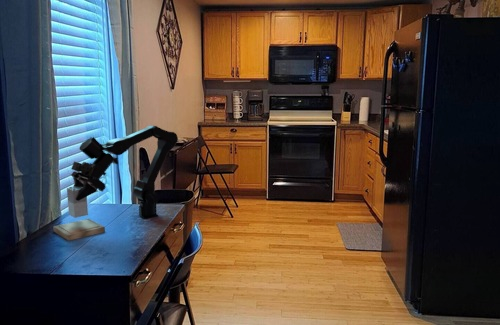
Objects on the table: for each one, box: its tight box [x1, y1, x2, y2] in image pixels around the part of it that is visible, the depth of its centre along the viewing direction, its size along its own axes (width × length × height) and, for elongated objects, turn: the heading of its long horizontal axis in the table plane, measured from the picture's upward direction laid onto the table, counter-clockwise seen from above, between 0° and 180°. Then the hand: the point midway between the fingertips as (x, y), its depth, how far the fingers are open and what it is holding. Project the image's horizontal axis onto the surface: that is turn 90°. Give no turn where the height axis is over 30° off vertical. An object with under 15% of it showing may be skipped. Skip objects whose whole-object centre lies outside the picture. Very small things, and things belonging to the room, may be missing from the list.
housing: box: [66, 186, 89, 219], centre depth 157 cm, size 5×6×11 cm
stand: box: [52, 218, 106, 242], centre depth 159 cm, size 14×14×2 cm
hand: (73, 198), depth 156 cm, fingers closed on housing, 5 cm apart
